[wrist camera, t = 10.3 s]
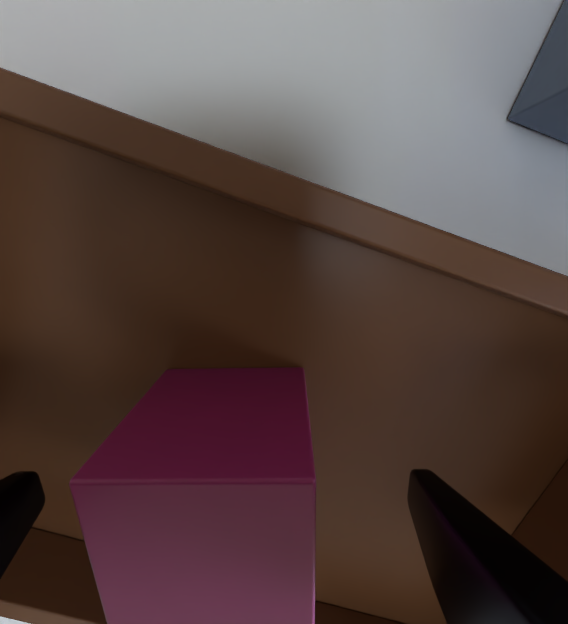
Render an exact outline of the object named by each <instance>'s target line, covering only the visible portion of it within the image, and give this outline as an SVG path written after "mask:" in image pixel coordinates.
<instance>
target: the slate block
mask: <svg viewBox="0 0 568 624" xmlns="http://www.w3.org/2000/svg"><path fill="white" fill-rule="evenodd" d="M508 119H509V120H511V121H513V122H516V123H518V124H521V125H523V126H526V127H528V128H530V129H533V130H535V131H538V132H540V133H543V134H545V135H548V136H550V137H553V138H555V139H558V140H560V141H563V142H565V143H568V0H564V2H563V4H562V7H561V9H560V11H559V13H558V15H557V17H556V19H555V21H554V23H553V25H552V27H551V29H550V31H549V34H548V36H547V38H546V40H545V42H544V44H543V46H542V48H541V50H540V52H539V54H538V56H537V58H536V61H535V63H534V65H533V67H532V69H531V71H530V73H529V75H528V77H527V79H526V81H525V83H524V85H523V88H522V90H521V92H520V94H519V96H518V98H517V100H516V102H515V104H514V106H513V108H512V110H511V112H510V115H509V117H508Z"/></svg>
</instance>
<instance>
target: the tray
mask: <svg viewBox="0 0 568 624" xmlns="http://www.w3.org/2000/svg"><path fill="white" fill-rule="evenodd" d="M293 367H302V368H304V373H305V382H306V391H307V400H308V409H309V419H310V428H311V437H312V446H313V455H314V465H315V474H316V555H315V624H447V622H446V620H445V617H444V615H443V612H442V610H441V607H440V605H439V602H438V599H437V597H436V594H435V591H434V589H433V586H432V583H431V580H430V577H429V573H428V570H427V567H426V563H425V560H424V557H423V554H422V550H421V547H420V544H419V540H418V537H417V534H416V530H415V527H414V524H413V520H412V517H411V514H410V510H409V507H408V501H407V494H408V485H409V476H410V472H411V470H413V469H429V470H431V471H432V472H434V473H435V474H436V475H437V476H439V477H440V478H441V479H442V480H444V481H445V482H446V483H447V484H448V485H450V486H451V487H452V488H453V489H455V490H456V491H457V492H458V493H460V494H461V495H462V496H463V497H465V498H466V499H467V500H468V501H469V502H471V503H472V504H473V505H474V506H476V507H477V508H478V509H479V510H481V511H482V512H483V513H484V514H485V515H487V516H488V517H489V518H490V519H492V520H493V521H494V522H495V523H497V524H498V525H499V526H500V527H501V528H503V529H504V530H505V531H506V532H508V533H509V534H510V535H511V536H513V537H514V538H515V539H516V540H518V541H519V542H520V543H521V544H522V545H524V546H525V547H526V548H527V549H529V550H530V551H531V552H532V553H534V554H535V555H536V556H537V557H538V558H540V559H541V560H542V561H543V562H545V563H546V564H547V565H548V566H550V567H551V568H552V569H553V570H554V571H556V572H557V573H558V574H559V575H561V576H562V577H563V578H564V579H566V580H567V581H568V276H566V275H563V274H560V273H558V272H555V271H552V270H549V269H547V268H544V267H541V266H539V265H536V264H533V263H530V262H528V261H525V260H522V259H519V258H517V257H514V256H511V255H509V254H506V253H503V252H500V251H498V250H495V249H492V248H490V247H487V246H484V245H481V244H479V243H476V242H473V241H471V240H468V239H465V238H462V237H460V236H457V235H454V234H452V233H449V232H446V231H443V230H441V229H438V228H435V227H432V226H430V225H427V224H424V223H422V222H419V221H416V220H413V219H411V218H408V217H405V216H403V215H400V214H397V213H394V212H392V211H389V210H386V209H384V208H381V207H378V206H375V205H373V204H370V203H367V202H364V201H362V200H359V199H356V198H354V197H351V196H348V195H345V194H343V193H340V192H337V191H335V190H332V189H329V188H326V187H324V186H321V185H318V184H316V183H313V182H310V181H307V180H305V179H302V178H299V177H297V176H294V175H291V174H288V173H286V172H283V171H280V170H277V169H275V168H272V167H269V166H267V165H264V164H261V163H258V162H256V161H253V160H250V159H248V158H245V157H242V156H239V155H237V154H234V153H231V152H229V151H226V150H223V149H220V148H218V147H215V146H212V145H210V144H207V143H204V142H201V141H199V140H196V139H193V138H190V137H188V136H185V135H182V134H180V133H177V132H174V131H171V130H169V129H166V128H163V127H161V126H158V125H155V124H152V123H150V122H147V121H144V120H142V119H139V118H136V117H133V116H131V115H128V114H125V113H122V112H120V111H117V110H114V109H112V108H109V107H106V106H103V105H101V104H98V103H95V102H93V101H90V100H87V99H84V98H82V97H79V96H76V95H74V94H71V93H68V92H65V91H63V90H60V89H57V88H55V87H52V86H49V85H46V84H44V83H41V82H38V81H35V80H33V79H30V78H27V77H25V76H22V75H19V74H16V73H14V72H11V71H8V70H6V69H3V68H0V480H1V479H3V478H5V477H7V476H9V475H11V474H12V473H15V472H18V471H35V472H37V473H38V475H39V477H40V480H41V484H42V487H43V490H44V494H45V504H44V507H43V509H42V511H41V513H40V514H39V516H38V518H37V519H36V521H35V523H34V524H33V526H32V528H31V529H30V531H29V533H28V534H27V536H26V538H25V539H24V541H23V543H22V544H21V546H20V548H19V549H18V551H17V553H16V554H15V556H14V558H13V559H12V561H11V563H10V564H9V566H8V568H7V569H6V571H5V573H4V574H3V576H2V577H1V579H0V616H1V617H6V618H10V619H14V620H19V621H23V622H27V623H31V624H107V622H106V618H105V614H104V611H103V607H102V603H101V600H100V596H99V592H98V589H97V585H96V581H95V578H94V574H93V570H92V567H91V563H90V559H89V556H88V552H87V548H86V545H85V541H84V538H83V534H82V530H81V527H80V523H79V519H78V516H77V512H76V508H75V505H74V501H73V497H72V494H71V490H70V486H69V482H70V480H71V478H72V477H73V476H74V475H75V474H76V473H77V471H78V470H79V469H80V468H81V467H82V466H83V465H84V463H85V462H86V461H87V460H88V459H89V458H90V457H91V455H92V454H93V453H94V452H95V451H96V450H97V449H98V447H99V446H100V445H101V444H102V443H103V442H104V441H105V439H106V438H107V437H108V436H109V435H110V434H111V432H112V431H113V430H114V429H115V428H116V427H117V426H118V424H119V423H120V422H121V421H122V420H123V419H124V418H125V416H126V415H127V414H128V413H129V412H130V411H131V410H132V408H133V407H134V406H135V405H136V404H137V403H138V402H139V400H140V399H141V398H142V397H143V396H144V395H145V394H146V392H147V391H148V390H149V389H150V388H151V387H152V386H153V384H154V383H155V382H156V381H157V380H158V379H159V378H160V376H161V375H162V374H163V373H164V372H165V371H166V370H167V369H210V368H293Z"/></svg>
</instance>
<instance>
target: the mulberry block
mask: <svg viewBox="0 0 568 624" xmlns="http://www.w3.org/2000/svg"><path fill="white" fill-rule="evenodd" d="M69 486H70V490H71V494H72V497H73V501H74V505H75V508H76V512H77V516H78V519H79V523H80V527H81V530H82V534H83V538H84V541H85V545H86V548H87V552H88V556H89V559H90V563H91V567H92V570H93V574H94V578H95V581H96V585H97V589H98V592H99V596H100V600H101V603H102V607H103V611H104V614H105V618H106V622H107V624H315V555H316V474H315V465H314V455H313V446H312V437H311V428H310V419H309V409H308V400H307V391H306V382H305V373H304V368H302V367H293V368H210V369H167V370H166V371H165V372H164V373H163V374H162V375H161V376H160V378H159V379H158V380H157V381H156V382H155V383H154V384H153V386H152V387H151V388H150V389H149V390H148V391H147V392H146V394H145V395H144V396H143V397H142V398H141V399H140V400H139V402H138V403H137V404H136V405H135V406H134V407H133V408H132V410H131V411H130V412H129V413H128V414H127V415H126V416H125V418H124V419H123V420H122V421H121V422H120V423H119V424H118V426H117V427H116V428H115V429H114V430H113V431H112V432H111V434H110V435H109V436H108V437H107V438H106V439H105V441H104V442H103V443H102V444H101V445H100V446H99V447H98V449H97V450H96V451H95V452H94V453H93V454H92V455H91V457H90V458H89V459H88V460H87V461H86V462H85V463H84V465H83V466H82V467H81V468H80V469H79V470H78V471H77V473H76V474H75V475H74V476H73V477H72V478H71V480H70V482H69Z"/></svg>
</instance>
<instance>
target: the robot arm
mask: <svg viewBox="0 0 568 624" xmlns="http://www.w3.org/2000/svg"><path fill="white" fill-rule="evenodd" d="M407 501H408V507H409V510H410V514H411V517H412V520H413V524H414V527H415V530H416V534H417V537H418V540H419V544H420V547H421V550H422V554H423V557H424V560H425V563H426V567H427V570H428V573H429V577H430V580H431V583H432V586H433V589H434V591H435V594H436V597H437V599H438V602H439V605H440V607H441V610H442V612H443V615H444V617H445V620H446V622H447V624H568V581H567V580H566V579H564V578H563V577H562V576H561V575H559V574H558V573H557V572H556V571H554V570H553V569H552V568H551V567H550V566H548V565H547V564H546V563H545V562H543V561H542V560H541V559H540V558H538V557H537V556H536V555H535V554H534V553H532V552H531V551H530V550H529V549H527V548H526V547H525V546H524V545H522V544H521V543H520V542H519V541H518V540H516V539H515V538H514V537H513V536H511V535H510V534H509V533H508V532H506V531H505V530H504V529H503V528H501V527H500V526H499V525H498V524H497V523H495V522H494V521H493V520H492V519H490V518H489V517H488V516H487V515H485V514H484V513H483V512H482V511H481V510H479V509H478V508H477V507H476V506H474V505H473V504H472V503H471V502H469V501H468V500H467V499H466V498H465V497H463V496H462V495H461V494H460V493H458V492H457V491H456V490H455V489H453V488H452V487H451V486H450V485H448V484H447V483H446V482H445V481H444V480H442V479H441V478H440V477H439V476H437V475H436V474H435V473H434V472H432V471H431V470H429V469H413V470H411V472H410V476H409V485H408V494H407ZM44 504H45V494H44V490H43V487H42V484H41V480H40V477H39V475H38V473H37V472H35V471H18V472H15V473H12V474H11V475H9V476H7V477H5V478H3V479H1V480H0V579H1V577H2V576H3V574H4V573H5V571H6V569H7V568H8V566H9V564H10V563H11V561H12V559H13V558H14V556H15V554H16V553H17V551H18V549H19V548H20V546H21V544H22V543H23V541H24V539H25V538H26V536H27V534H28V533H29V531H30V529H31V528H32V526H33V524H34V523H35V521H36V519H37V518H38V516H39V514H40V513H41V511H42V509H43V507H44Z"/></svg>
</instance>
